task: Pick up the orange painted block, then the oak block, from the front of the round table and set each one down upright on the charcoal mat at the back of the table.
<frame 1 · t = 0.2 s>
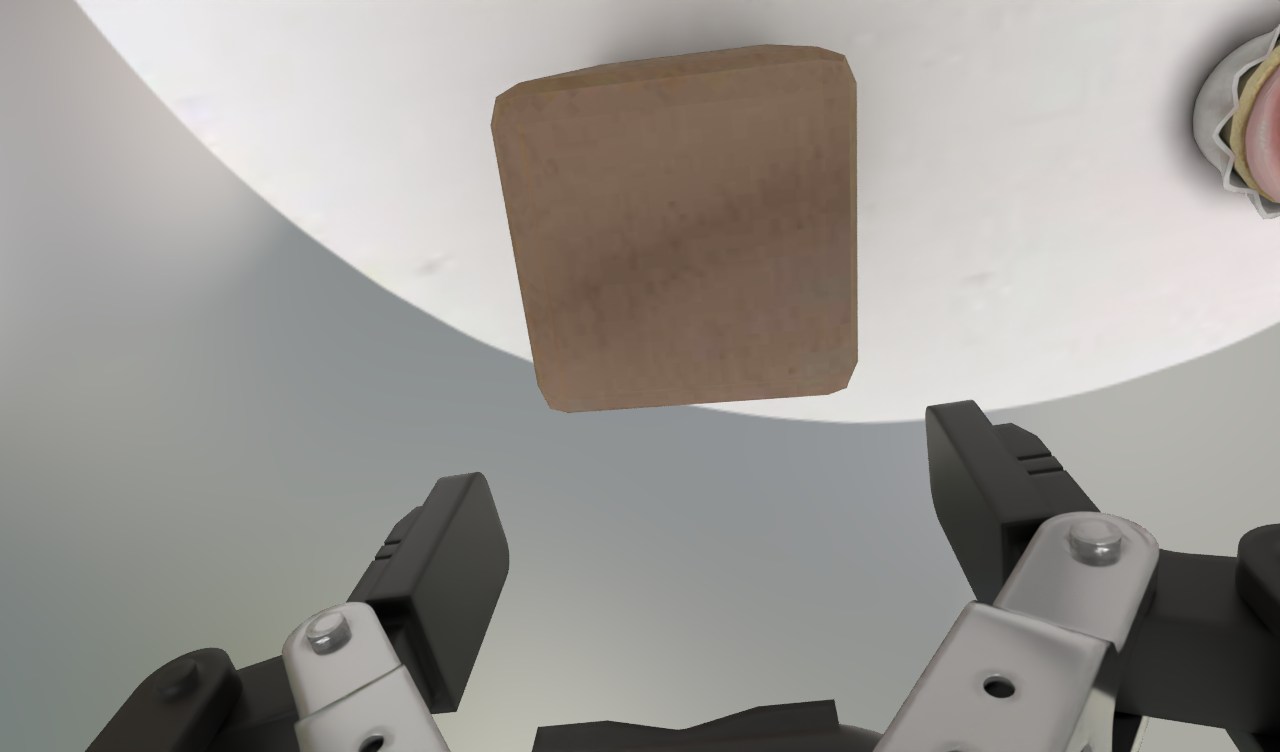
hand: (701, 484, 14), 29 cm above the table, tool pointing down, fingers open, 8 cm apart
wooden block: (692, 157, 40), on the table
cupcake: (1256, 105, 37), on the table
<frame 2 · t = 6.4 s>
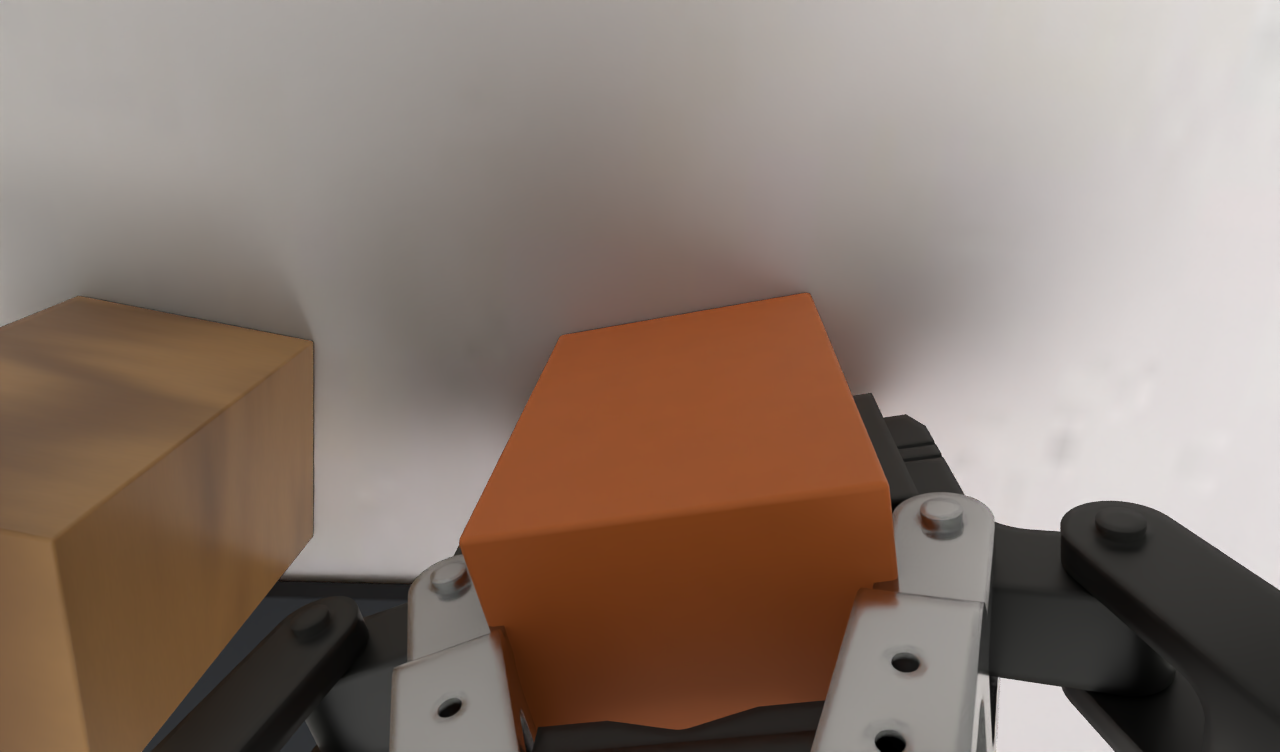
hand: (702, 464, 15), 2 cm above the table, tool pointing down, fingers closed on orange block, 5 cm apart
oak block: (203, 422, 17), on the table
mat: (509, 718, 20), on the table
orange block: (703, 425, 16), on the table, touching gripper
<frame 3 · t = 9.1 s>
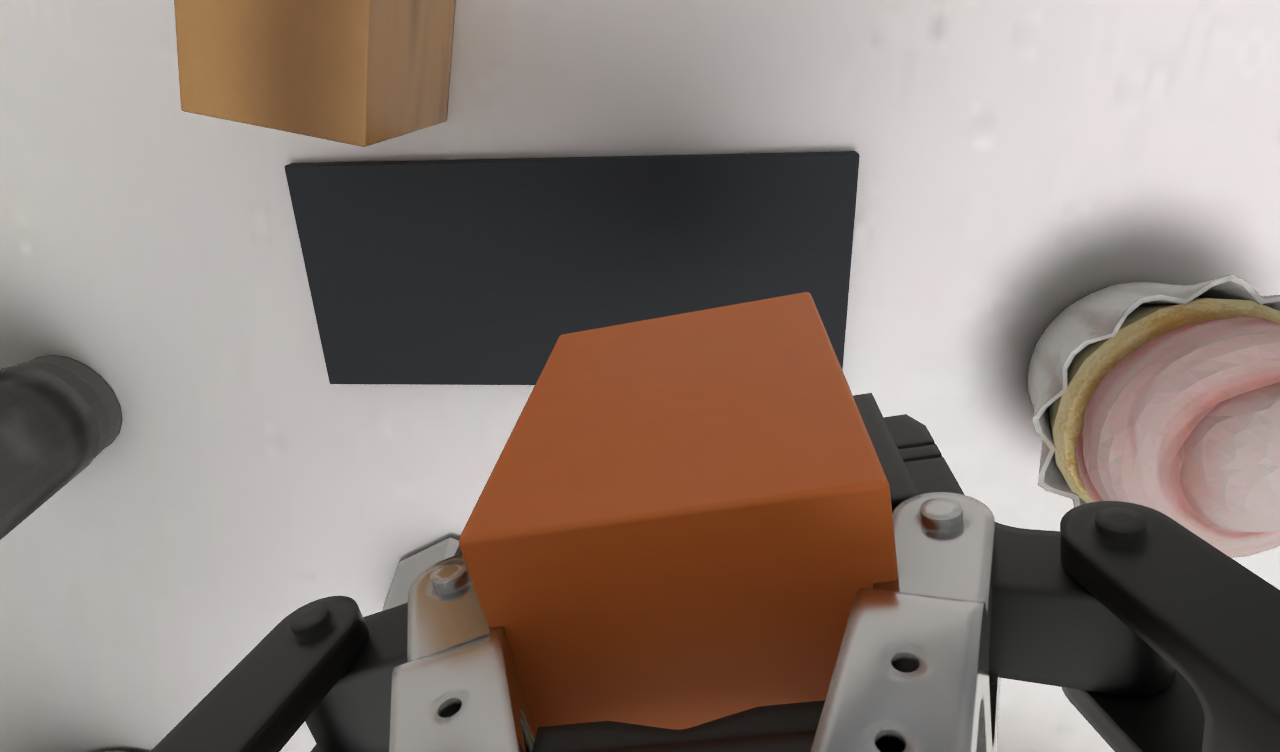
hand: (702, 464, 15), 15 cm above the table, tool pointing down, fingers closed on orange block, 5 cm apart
flask: (467, 600, 36), on the table
beverage cup: (73, 402, 33), on the table
oak block: (379, 30, 26), on the table
mat: (573, 274, 29), on the table
orange block: (703, 424, 16), point 13 cm above the table, touching gripper
cupcake: (1114, 360, 28), on the table
when the fingers open (2 cm above the table, at t = 12.3 s): orange block stays where it is, resting on mat.
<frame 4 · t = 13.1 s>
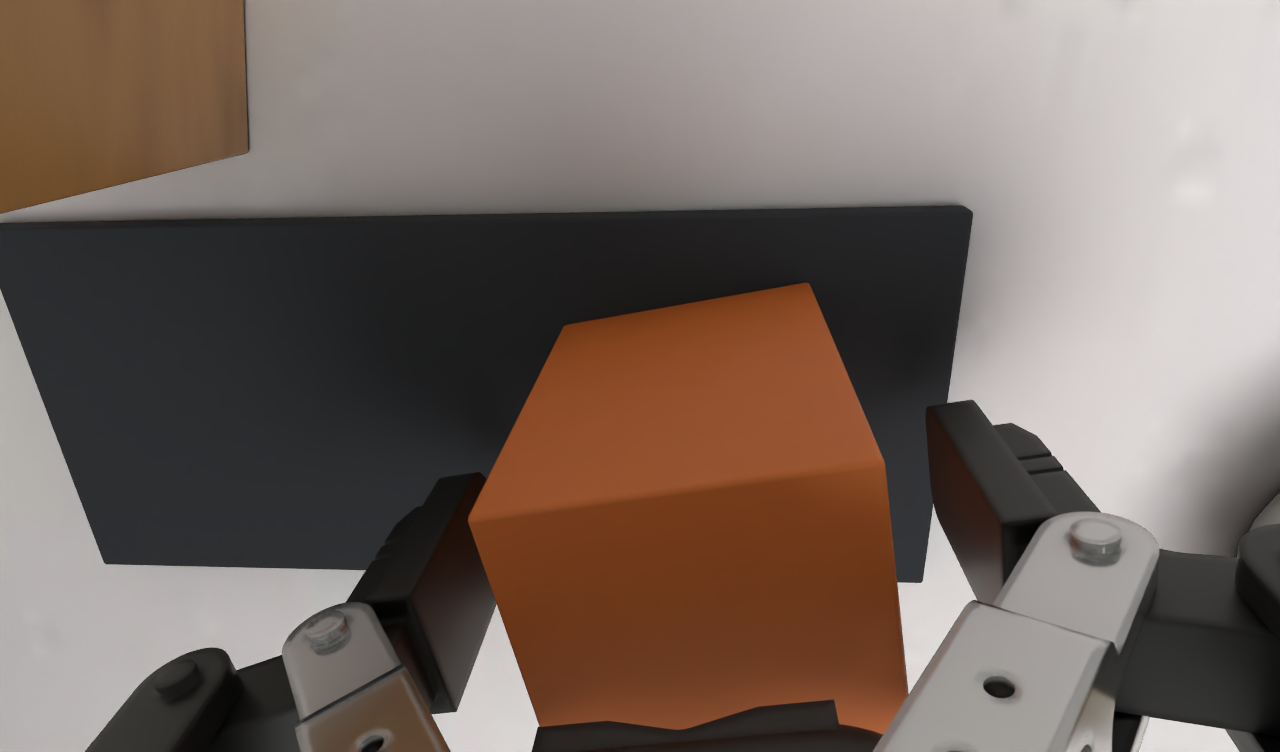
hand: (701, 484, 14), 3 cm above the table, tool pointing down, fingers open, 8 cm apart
mat: (480, 403, 17), on the table
orange block: (704, 413, 16), point 1 cm above the table, touching mat
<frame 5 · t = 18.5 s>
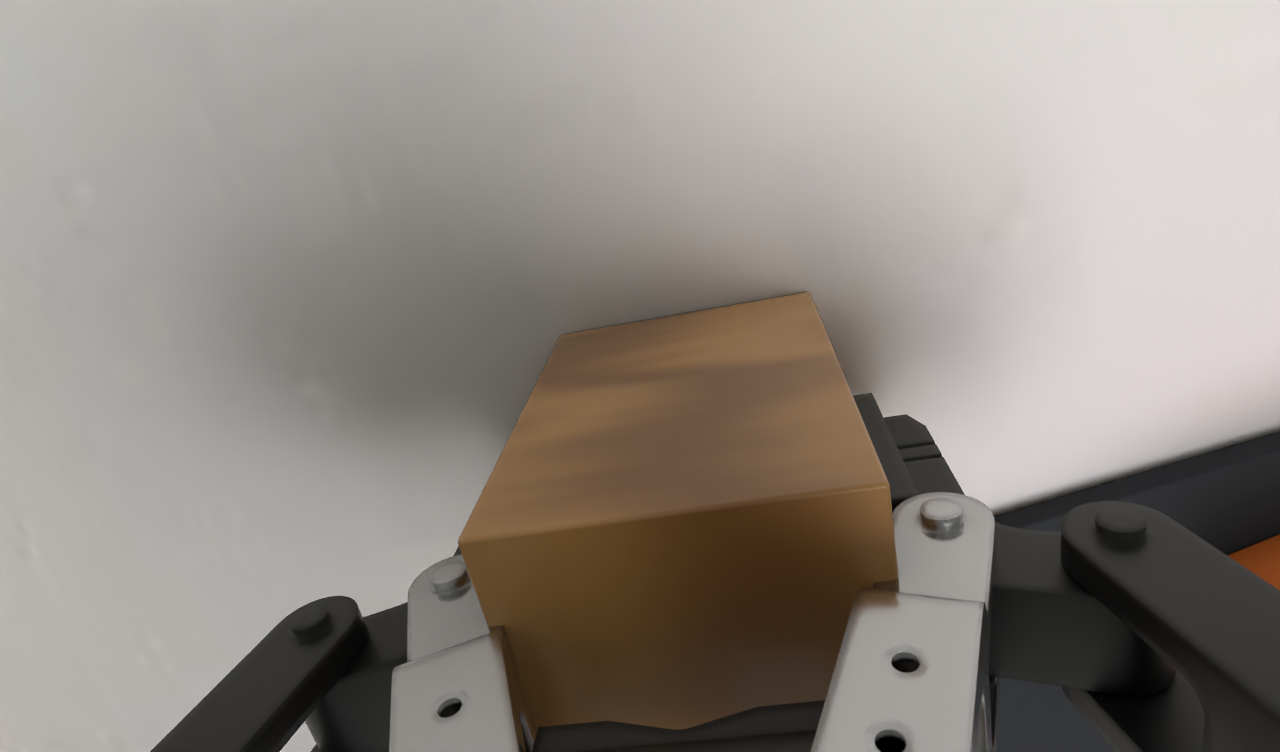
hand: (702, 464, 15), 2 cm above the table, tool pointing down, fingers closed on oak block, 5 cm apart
oak block: (703, 425, 16), on the table, touching gripper
mat: (1090, 648, 17), on the table
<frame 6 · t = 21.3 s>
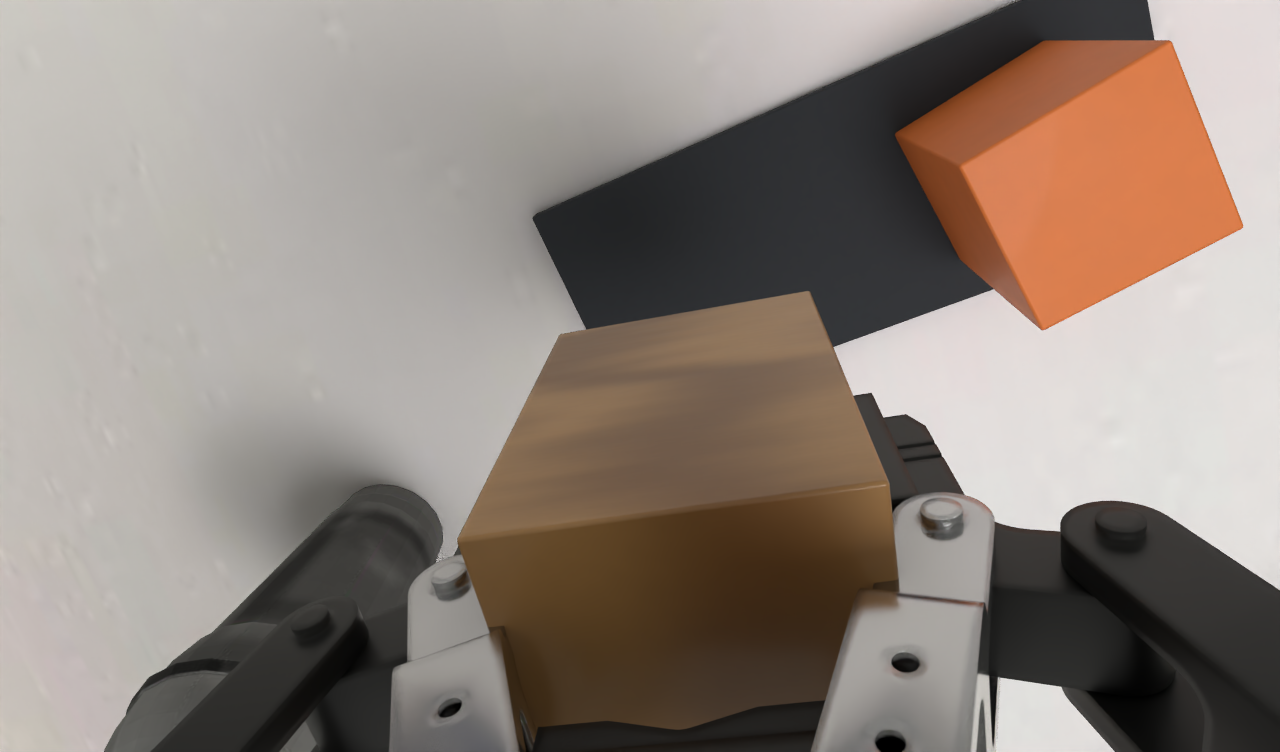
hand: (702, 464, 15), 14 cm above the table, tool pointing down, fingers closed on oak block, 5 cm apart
beverage cup: (393, 526, 34), on the table
oak block: (703, 424, 16), point 13 cm above the table, touching gripper
mat: (845, 215, 27), on the table
orange block: (1000, 156, 25), point 1 cm above the table, touching mat
when the fingers open (2 cm above the table, at t = 24.4 s): oak block stays where it is, resting on mat.
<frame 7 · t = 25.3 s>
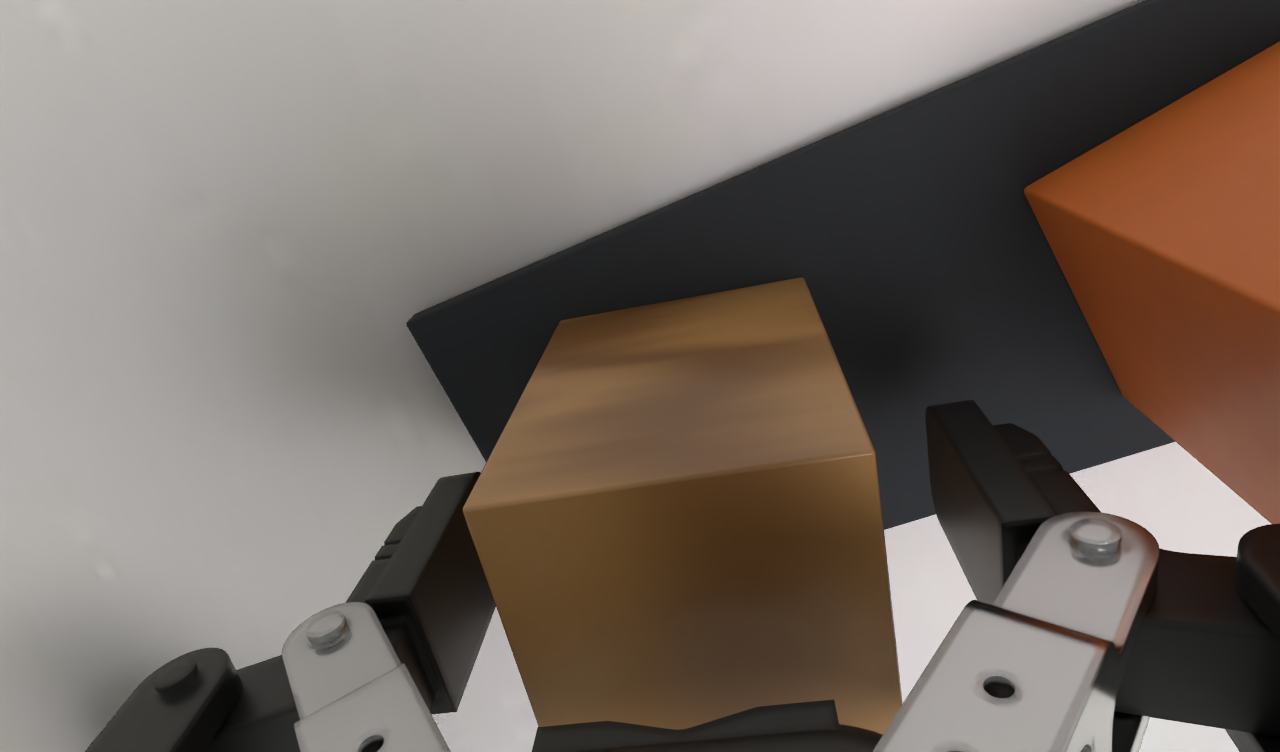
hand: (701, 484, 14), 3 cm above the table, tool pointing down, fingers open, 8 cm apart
oak block: (700, 408, 16), point 1 cm above the table, touching mat
mat: (927, 319, 16), on the table
orange block: (1208, 228, 14), point 1 cm above the table, touching mat
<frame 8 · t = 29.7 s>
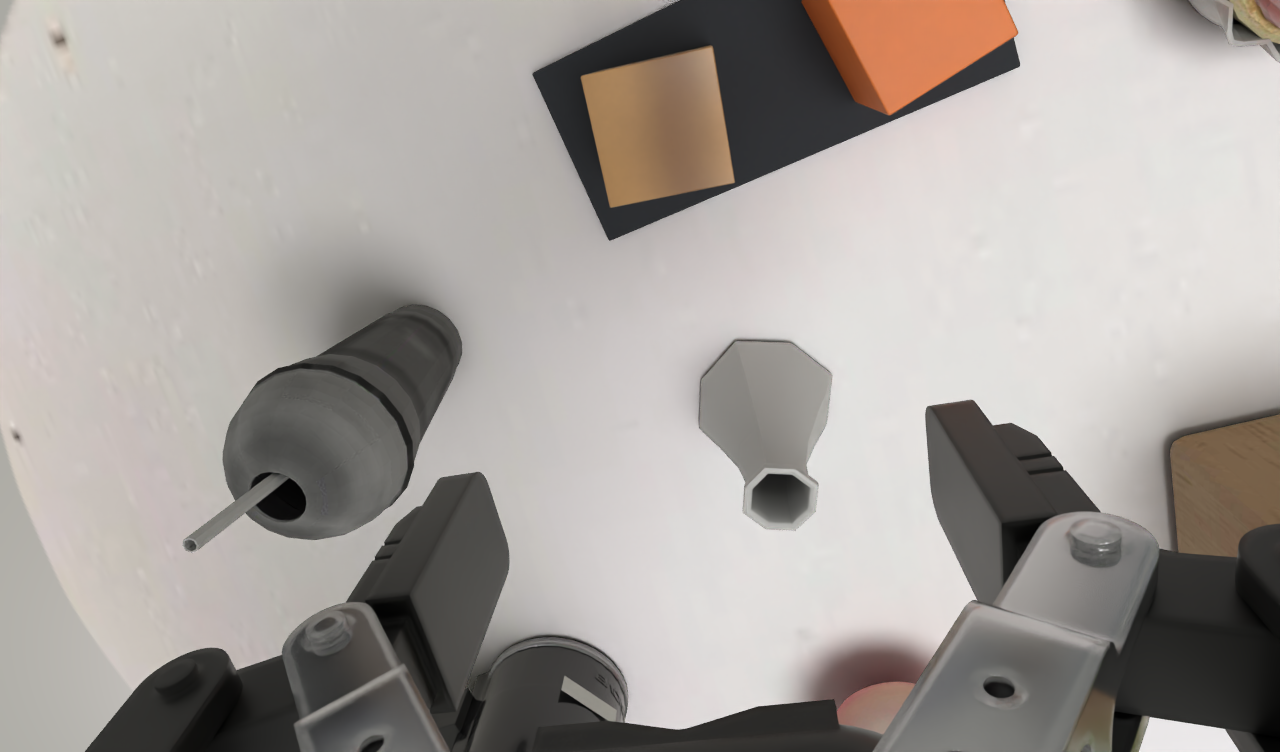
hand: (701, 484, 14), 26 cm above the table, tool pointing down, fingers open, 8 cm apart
flask: (763, 397, 42), on the table
beverage cup: (422, 342, 42), on the table
wooden block: (1264, 487, 42), on the table
oak block: (667, 114, 36), point 1 cm above the table, touching mat
mat: (769, 69, 35), on the table
orange block: (880, 18, 33), point 1 cm above the table, touching mat
decorative fruit: (884, 687, 49), on the table
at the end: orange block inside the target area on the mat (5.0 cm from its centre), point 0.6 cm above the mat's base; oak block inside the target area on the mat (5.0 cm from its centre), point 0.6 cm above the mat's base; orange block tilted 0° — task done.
